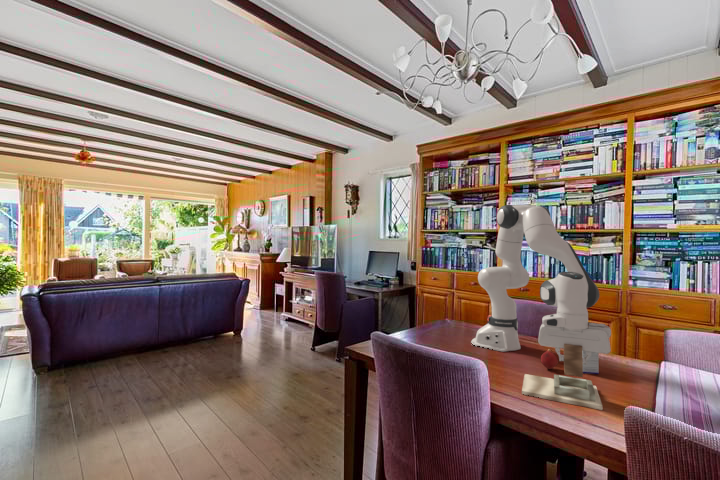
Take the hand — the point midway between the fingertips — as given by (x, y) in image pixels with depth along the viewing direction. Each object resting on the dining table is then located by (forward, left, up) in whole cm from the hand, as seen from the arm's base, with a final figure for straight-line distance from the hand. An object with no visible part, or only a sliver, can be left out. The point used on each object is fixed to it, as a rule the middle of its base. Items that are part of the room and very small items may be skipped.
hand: (572, 362), depth 110 cm
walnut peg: (0, 0, -4) cm, 4 cm away
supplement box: (+6, +26, -11) cm, 29 cm away
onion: (-7, +21, -11) cm, 25 cm away
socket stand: (-4, 0, -11) cm, 11 cm away
